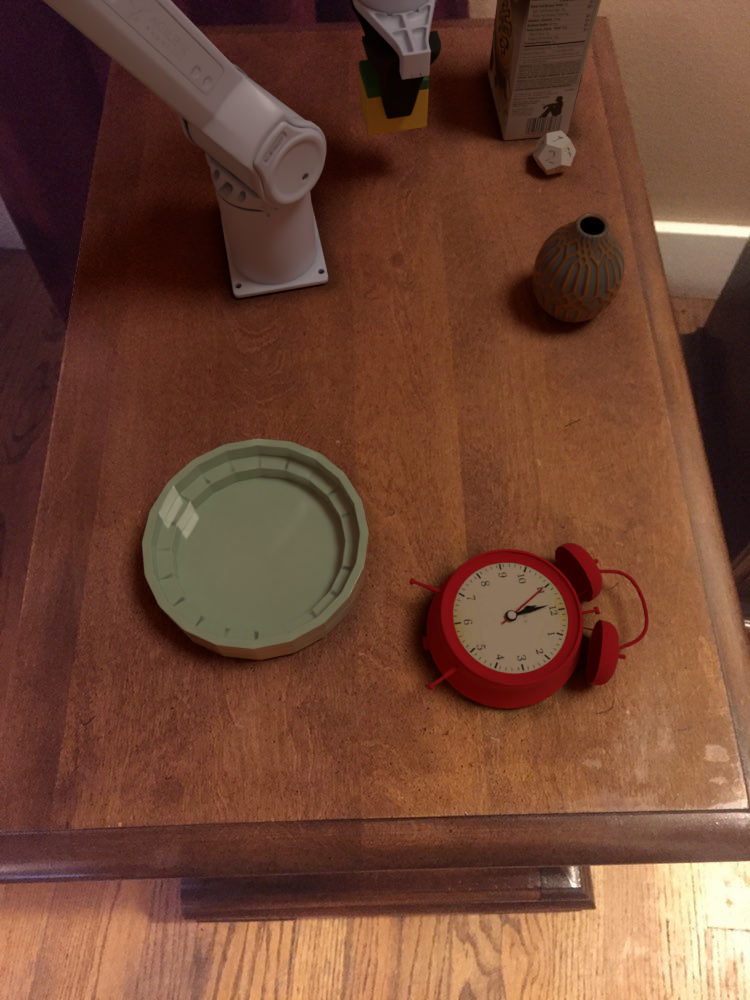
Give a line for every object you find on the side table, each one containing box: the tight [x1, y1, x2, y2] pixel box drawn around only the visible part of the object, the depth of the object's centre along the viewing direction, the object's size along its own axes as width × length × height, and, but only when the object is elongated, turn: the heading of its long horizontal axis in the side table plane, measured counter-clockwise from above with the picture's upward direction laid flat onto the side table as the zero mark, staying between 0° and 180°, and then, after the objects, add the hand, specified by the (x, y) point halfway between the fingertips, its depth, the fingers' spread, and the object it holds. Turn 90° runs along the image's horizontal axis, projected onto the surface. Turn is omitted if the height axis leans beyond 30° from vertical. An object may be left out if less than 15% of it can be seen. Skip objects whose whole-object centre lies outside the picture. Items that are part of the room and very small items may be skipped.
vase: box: [532, 212, 626, 323], centre depth 63 cm, size 7×7×9 cm
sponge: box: [358, 58, 430, 137], centre depth 67 cm, size 5×3×4 cm
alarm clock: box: [408, 542, 650, 709], centre depth 54 cm, size 10×6×15 cm
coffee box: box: [487, 0, 602, 141], centre depth 70 cm, size 9×6×16 cm
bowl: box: [141, 437, 371, 661], centre depth 57 cm, size 15×15×4 cm
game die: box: [532, 130, 577, 176], centre depth 73 cm, size 4×4×3 cm
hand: (393, 98), depth 67 cm, fingers closed on sponge, 3 cm apart
